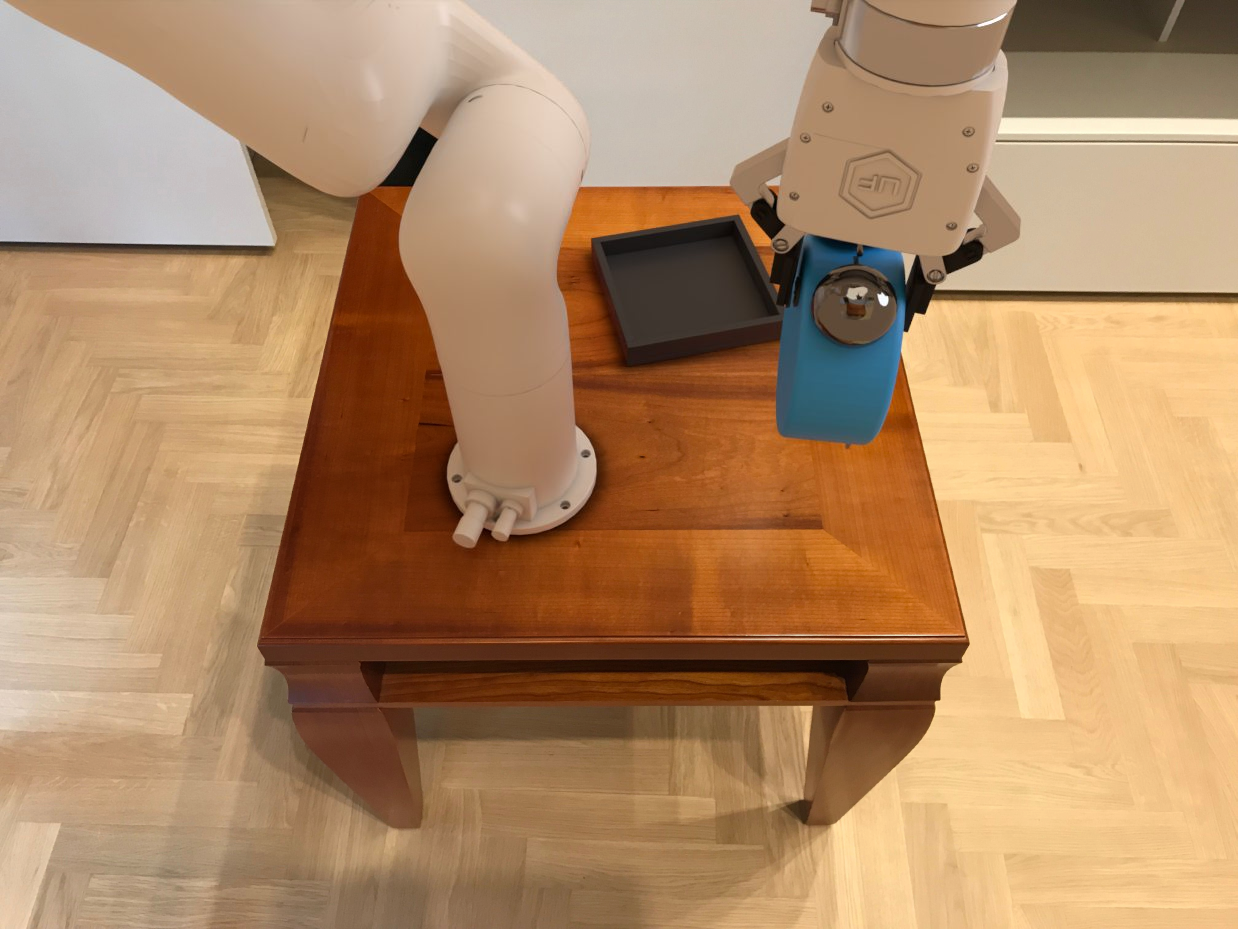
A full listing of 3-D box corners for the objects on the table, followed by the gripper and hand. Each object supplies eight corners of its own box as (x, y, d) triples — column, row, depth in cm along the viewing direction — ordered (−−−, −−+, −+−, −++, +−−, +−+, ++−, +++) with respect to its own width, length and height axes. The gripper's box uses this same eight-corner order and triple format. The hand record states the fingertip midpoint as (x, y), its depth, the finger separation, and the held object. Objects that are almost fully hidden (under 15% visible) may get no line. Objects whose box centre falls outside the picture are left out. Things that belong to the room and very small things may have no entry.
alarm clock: (862, 487, 62) (922, 325, 50) (768, 477, 63) (806, 314, 51) (857, 344, 70) (908, 174, 58) (773, 336, 71) (807, 165, 58)
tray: (786, 338, 90) (790, 318, 88) (627, 367, 88) (627, 347, 86) (736, 233, 99) (739, 213, 97) (591, 257, 97) (590, 237, 95)
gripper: (722, 34, 43) (693, 315, 58) (1117, 99, 41) (983, 377, 55) (755, -42, 48) (720, 237, 62) (1114, 13, 45) (991, 292, 59)
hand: (844, 301), depth 58 cm, fingers closed on alarm clock, 6 cm apart
